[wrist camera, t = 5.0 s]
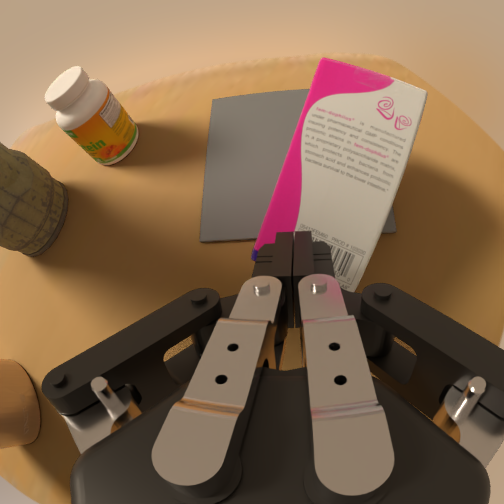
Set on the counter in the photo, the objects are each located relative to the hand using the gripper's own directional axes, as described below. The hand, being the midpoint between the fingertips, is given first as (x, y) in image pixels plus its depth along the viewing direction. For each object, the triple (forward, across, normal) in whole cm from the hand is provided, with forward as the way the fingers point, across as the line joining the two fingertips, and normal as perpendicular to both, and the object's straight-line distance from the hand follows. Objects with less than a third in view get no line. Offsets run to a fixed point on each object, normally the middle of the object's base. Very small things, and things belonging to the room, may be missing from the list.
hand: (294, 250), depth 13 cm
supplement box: (+4, 0, +4) cm, 5 cm away
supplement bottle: (+15, +17, -5) cm, 23 cm away
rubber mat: (+12, 0, -2) cm, 13 cm away
